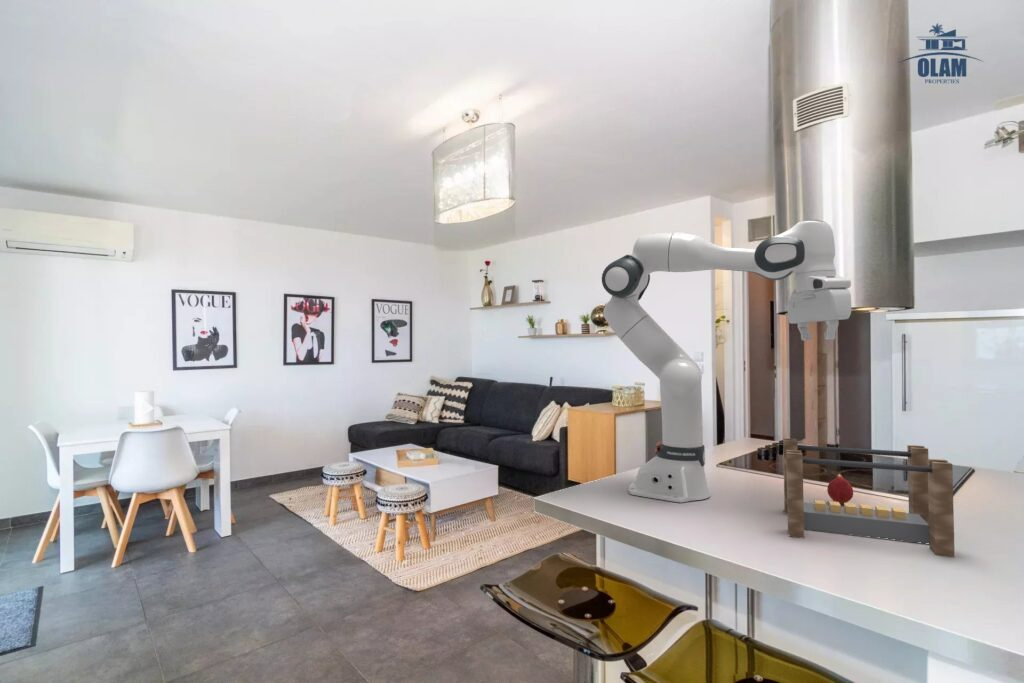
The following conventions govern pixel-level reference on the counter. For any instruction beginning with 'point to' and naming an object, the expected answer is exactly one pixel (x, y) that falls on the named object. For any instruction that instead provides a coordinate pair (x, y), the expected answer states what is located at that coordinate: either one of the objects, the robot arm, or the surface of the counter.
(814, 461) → the rod
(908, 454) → the cord far
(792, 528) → the cord posts
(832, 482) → the onion
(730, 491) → the counter surface
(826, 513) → the breaker strip
